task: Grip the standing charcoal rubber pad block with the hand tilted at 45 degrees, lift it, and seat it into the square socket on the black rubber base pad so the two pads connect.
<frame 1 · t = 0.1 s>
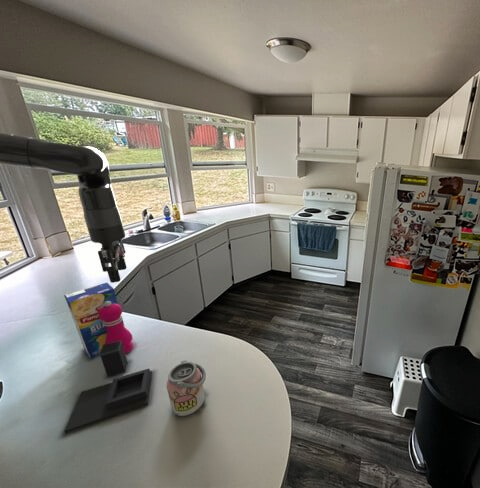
hand: (119, 275, 75), 31 cm above the table, tool pointing down, fingers open, 8 cm apart
beverage box: (107, 345, 89), on the table
base pad: (114, 399, 70), on the table
pad block: (118, 369, 80), on the table
beverage can: (191, 403, 70), on the table
pepper mill: (122, 350, 87), on the table
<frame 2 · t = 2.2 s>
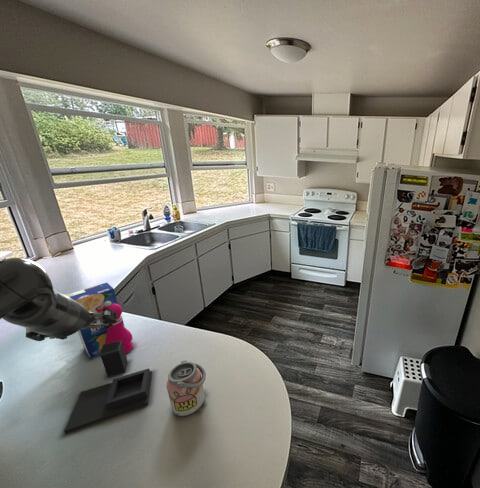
hand: (87, 329, 64), 23 cm above the table, tool tilted 45°, fingers open, 8 cm apart
nothing on the table moved.
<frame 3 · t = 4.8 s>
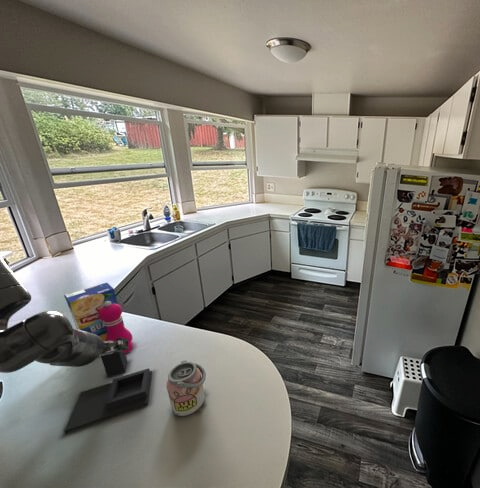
hand: (102, 353, 71), 12 cm above the table, tool tilted 45°, fingers open, 8 cm apart
nothing on the table moved.
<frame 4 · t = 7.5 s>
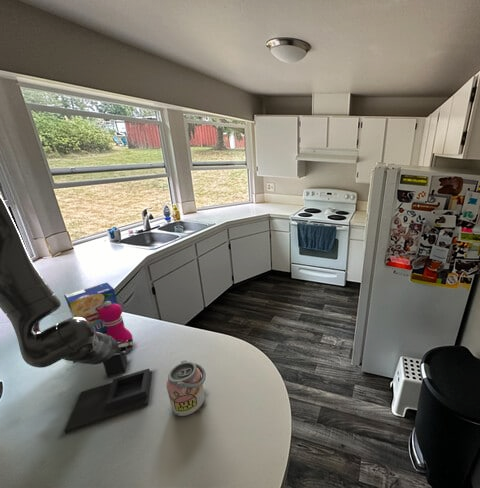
hand: (115, 353, 80), 5 cm above the table, tool tilted 45°, fingers closed on pad block, 4 cm apart
pad block: (118, 369, 80), on the table, touching gripper
everything else where it was.
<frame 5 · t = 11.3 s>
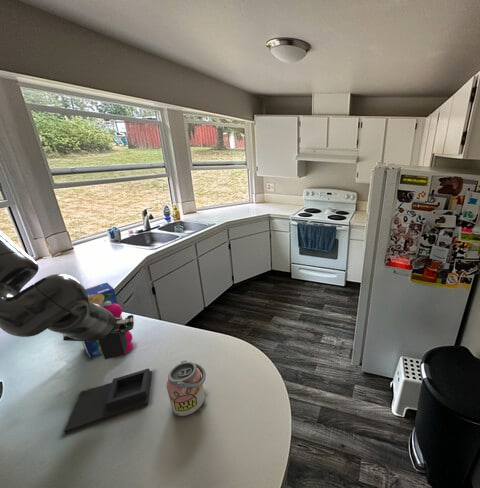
hand: (113, 332, 70), 18 cm above the table, tool tilted 45°, fingers closed on pad block, 4 cm apart
pad block: (116, 351, 70), point 13 cm above the table, touching gripper
everything else where it was.
when the fingers open (6 cm above the table, at t = 15.4 s): pad block stays where it is, resting on base pad.
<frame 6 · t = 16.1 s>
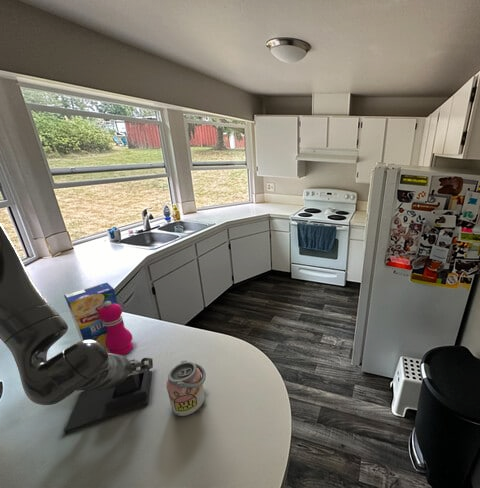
hand: (126, 372, 71), 7 cm above the table, tool tilted 45°, fingers open, 8 cm apart
pad block: (130, 391, 72), point 1 cm above the table, touching base pad
everything else where it was.
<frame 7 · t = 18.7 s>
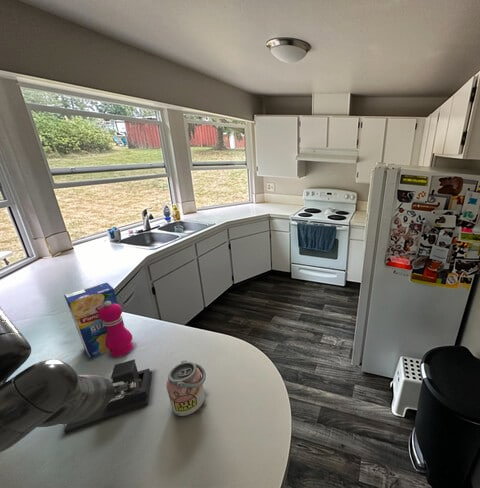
hand: (110, 395, 59), 12 cm above the table, tool tilted 45°, fingers open, 8 cm apart
nothing on the table moved.
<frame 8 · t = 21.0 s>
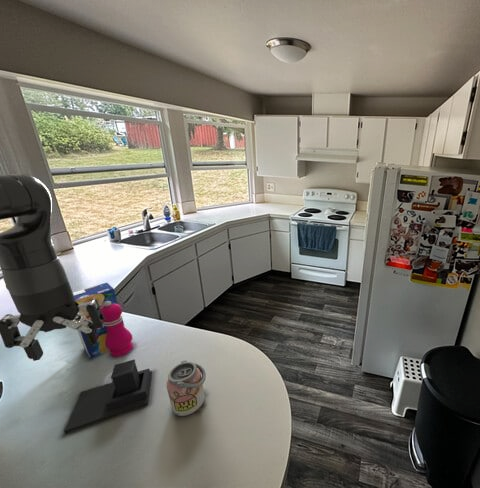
hand: (66, 350, 53), 26 cm above the table, tool pointing down, fingers open, 8 cm apart
nothing on the table moved.
at the end: pad block 0.1 cm from the target spot on the base pad, point 1.0 cm above the base pad's base; pad block tilted 0°; the gripper is holding nothing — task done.
